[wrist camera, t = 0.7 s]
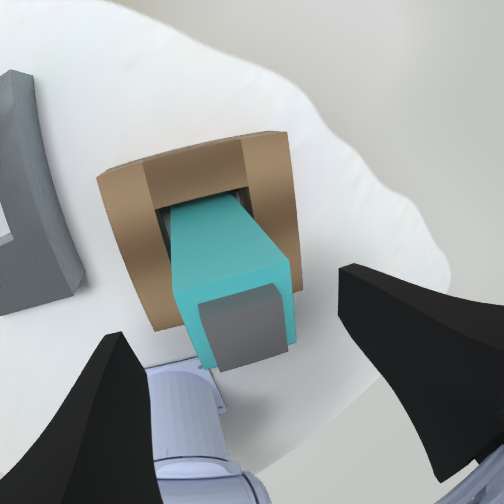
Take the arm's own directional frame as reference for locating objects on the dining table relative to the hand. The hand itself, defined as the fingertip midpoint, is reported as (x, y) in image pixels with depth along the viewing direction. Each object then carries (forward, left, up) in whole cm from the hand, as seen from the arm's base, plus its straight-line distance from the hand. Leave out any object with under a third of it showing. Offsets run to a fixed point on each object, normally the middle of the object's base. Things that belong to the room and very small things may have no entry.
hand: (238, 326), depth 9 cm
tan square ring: (0, 0, -10) cm, 10 cm away
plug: (0, 0, -10) cm, 10 cm away
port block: (+6, +14, -10) cm, 18 cm away
